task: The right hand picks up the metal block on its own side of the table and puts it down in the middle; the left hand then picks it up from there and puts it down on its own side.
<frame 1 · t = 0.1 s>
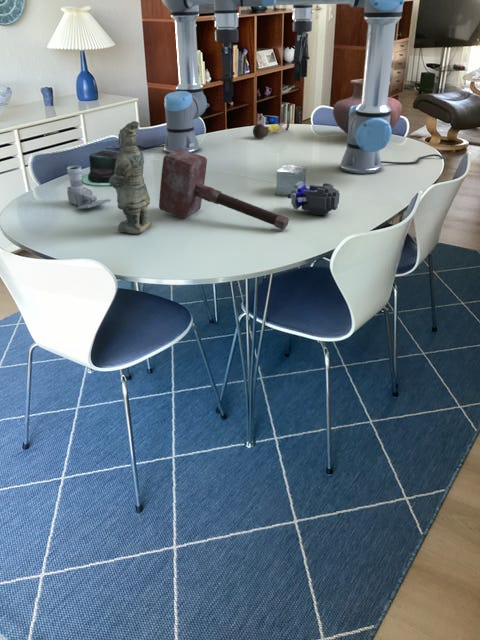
left hand: (300, 79, 228), 28 cm above the table, tool pointing down, fingers open, 13 cm apart
right hand: (228, 99, 188), 28 cm above the table, tool pointing down, fingers open, 13 cm apart
grey piece: (87, 206, 181), on the table
green top hat: (109, 178, 208), on the table
metal block: (291, 192, 189), on the table
sledgehammer: (224, 220, 166), on the table
figurine: (270, 134, 266), on the table
statue: (134, 229, 162), on the table
toy: (312, 213, 171), on the table
clay pot: (364, 139, 255), on the table
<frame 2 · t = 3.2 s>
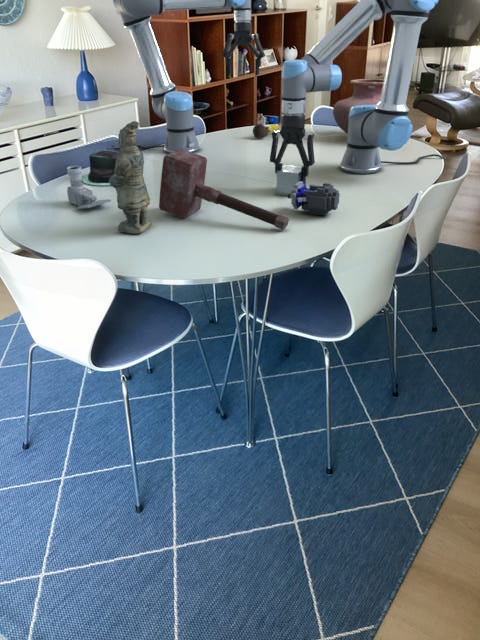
left hand: (243, 74, 253), 27 cm above the table, tool pointing down, fingers open, 13 cm apart
right hand: (291, 184, 188), 3 cm above the table, tool pointing down, fingers closed on metal block, 8 cm apart
metal block: (291, 192, 189), on the table, touching right hand
everything else where it was.
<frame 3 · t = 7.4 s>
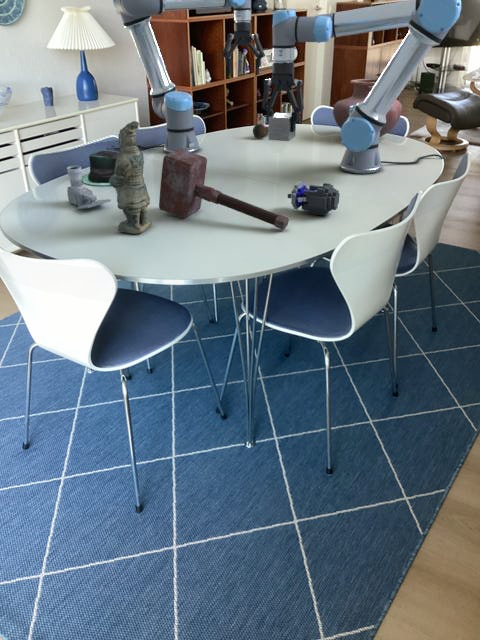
left hand: (243, 74, 253), 27 cm above the table, tool pointing down, fingers open, 13 cm apart
right hand: (282, 130, 201), 16 cm above the table, tool pointing down, fingers closed on metal block, 8 cm apart
metal block: (282, 138, 202), point 13 cm above the table, touching right hand
everything else where it was.
when the right hand's fingers open (4 cm above the table, at t = 11.9 s): metal block drops 2 cm, on the table.
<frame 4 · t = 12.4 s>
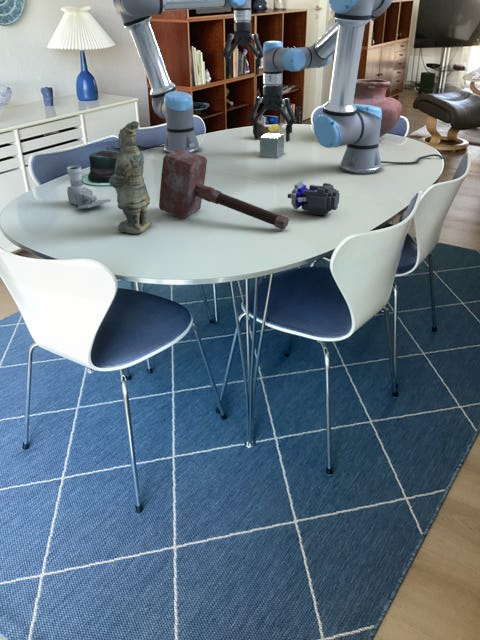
left hand: (243, 74, 253), 27 cm above the table, tool pointing down, fingers open, 13 cm apart
right hand: (272, 140, 230), 6 cm above the table, tool pointing down, fingers open, 13 cm apart
metal block: (272, 155, 233), on the table
everything else where it was.
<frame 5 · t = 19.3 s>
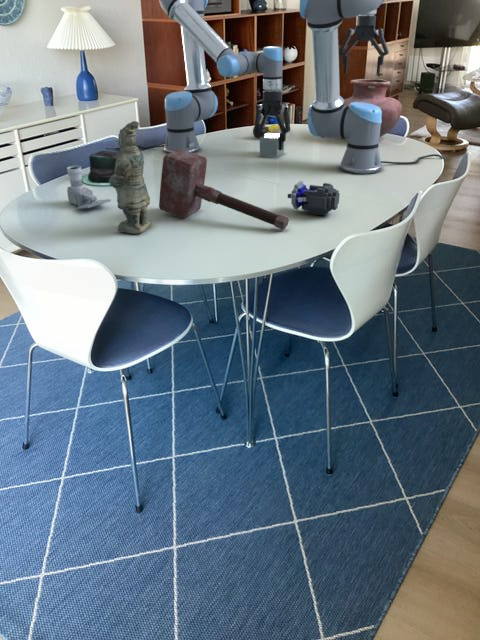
left hand: (272, 148, 232), 3 cm above the table, tool pointing down, fingers closed on metal block, 8 cm apart
right hand: (361, 73, 231), 29 cm above the table, tool pointing down, fingers open, 13 cm apart
metal block: (271, 155, 233), on the table, touching left hand
everything else where it was.
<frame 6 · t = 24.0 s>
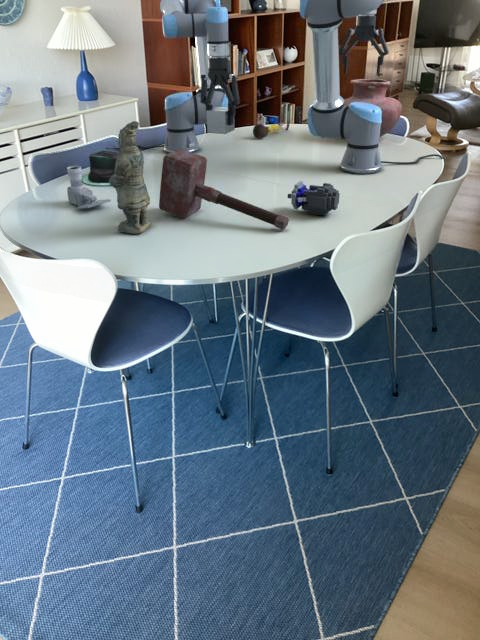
left hand: (220, 123, 208), 17 cm above the table, tool pointing down, fingers closed on metal block, 8 cm apart
right hand: (361, 73, 231), 29 cm above the table, tool pointing down, fingers open, 13 cm apart
metal block: (221, 131, 209), point 14 cm above the table, touching left hand
everything else where it was.
when the left hand's fingers open (4 cm above the table, at t = 28.8 s): metal block drops 2 cm, on the table.
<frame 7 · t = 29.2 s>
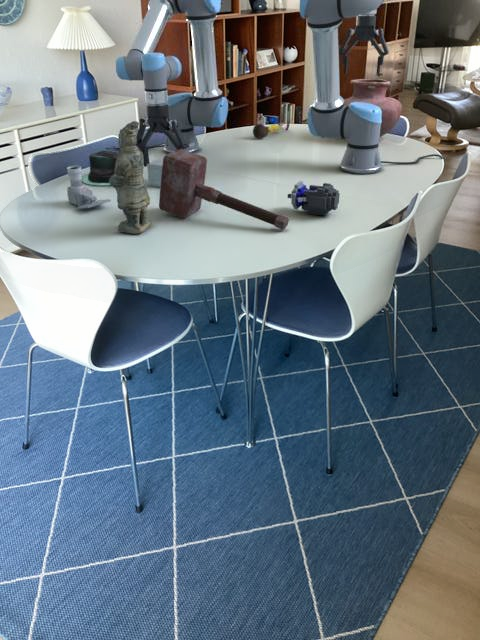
left hand: (162, 167, 197), 6 cm above the table, tool pointing down, fingers open, 13 cm apart
right hand: (361, 73, 231), 29 cm above the table, tool pointing down, fingers open, 13 cm apart
metal block: (164, 184, 200), on the table
everything else where it was.
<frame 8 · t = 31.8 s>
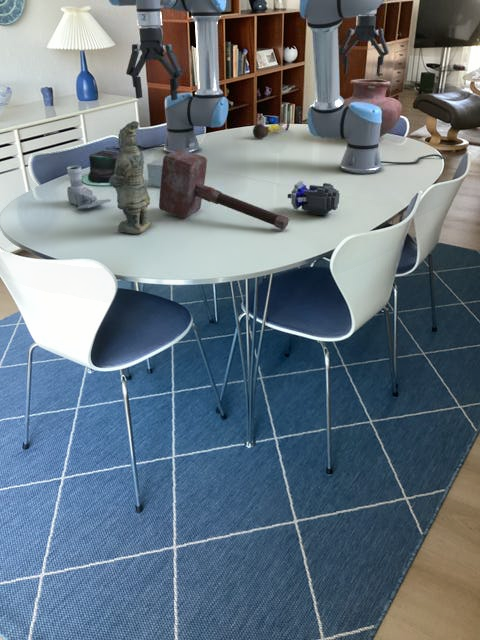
left hand: (156, 98, 186), 29 cm above the table, tool pointing down, fingers open, 13 cm apart
right hand: (361, 73, 231), 29 cm above the table, tool pointing down, fingers open, 13 cm apart
nothing on the table moved.
at the end: metal block inside the target area (0.1 cm from its centre), on the table; metal block tilted 0°; the two hands never held the metal block at the same time; the left hand is holding nothing; the right hand is holding nothing; metal block at rest at the end (0.0 cm/s) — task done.
